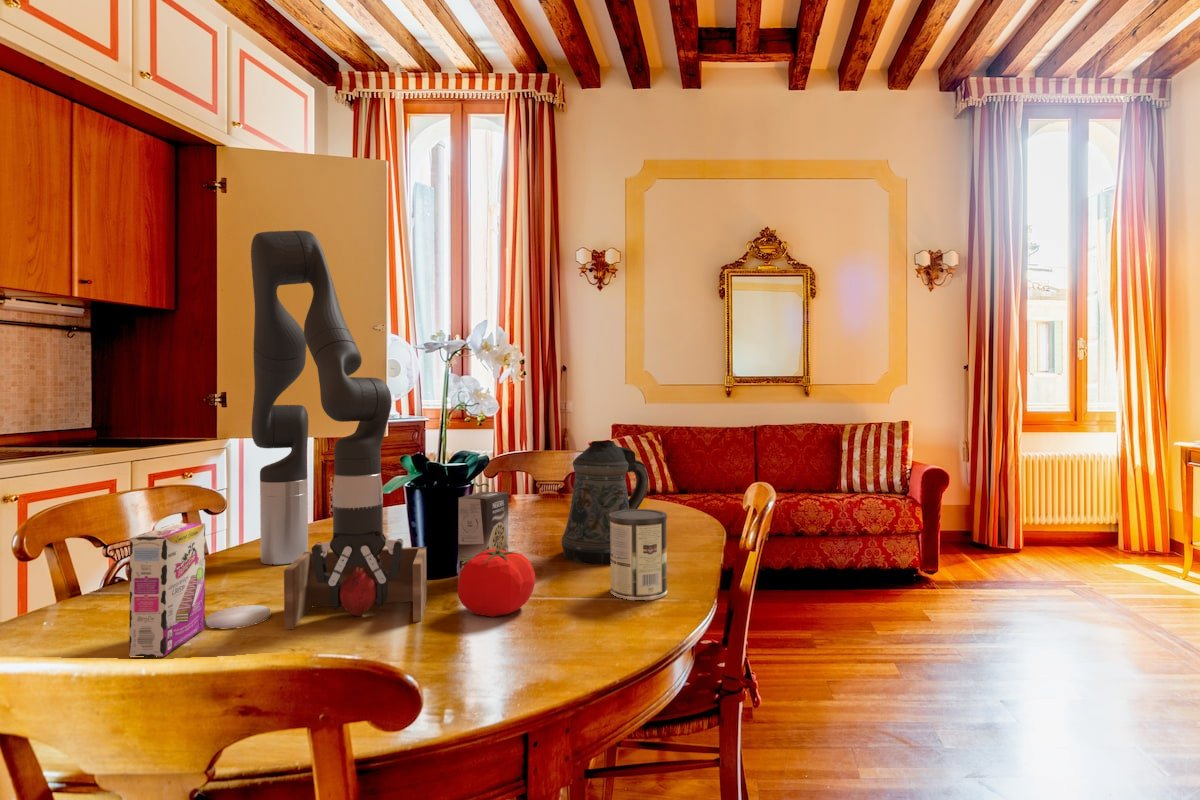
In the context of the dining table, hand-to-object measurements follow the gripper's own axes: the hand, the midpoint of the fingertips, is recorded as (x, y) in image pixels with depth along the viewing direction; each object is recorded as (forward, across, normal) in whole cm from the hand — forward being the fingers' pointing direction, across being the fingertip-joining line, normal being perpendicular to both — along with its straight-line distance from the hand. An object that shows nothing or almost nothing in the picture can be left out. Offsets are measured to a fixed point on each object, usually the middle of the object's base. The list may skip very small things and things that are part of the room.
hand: (358, 606), depth 108 cm
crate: (+2, 0, -2) cm, 2 cm away
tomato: (+2, -22, +2) cm, 22 cm away
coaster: (+2, +18, -2) cm, 19 cm away
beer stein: (+2, -46, -33) cm, 57 cm away
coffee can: (+2, -47, -4) cm, 47 cm away
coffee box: (+2, -20, -19) cm, 28 cm away
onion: (+2, 0, 0) cm, 2 cm away
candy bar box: (+2, +25, +7) cm, 26 cm away
